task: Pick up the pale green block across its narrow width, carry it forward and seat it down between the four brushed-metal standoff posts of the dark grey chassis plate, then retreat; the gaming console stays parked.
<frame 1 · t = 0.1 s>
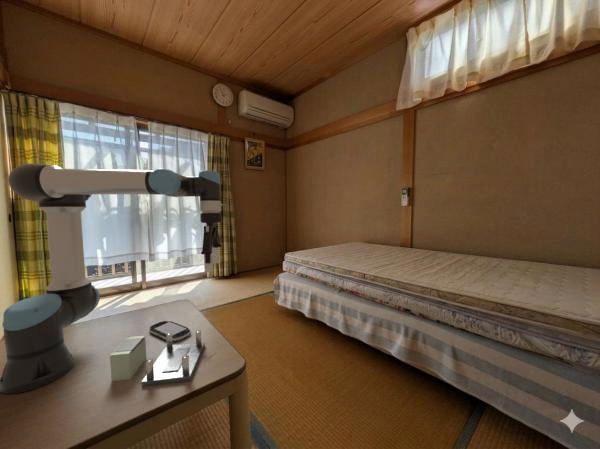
hand: (212, 267, 91), 28 cm above the table, fingers open, 13 cm apart
gaming console: (169, 334, 97), on the table
pale green block: (130, 369, 75), on the table
chassis: (177, 363, 77), on the table
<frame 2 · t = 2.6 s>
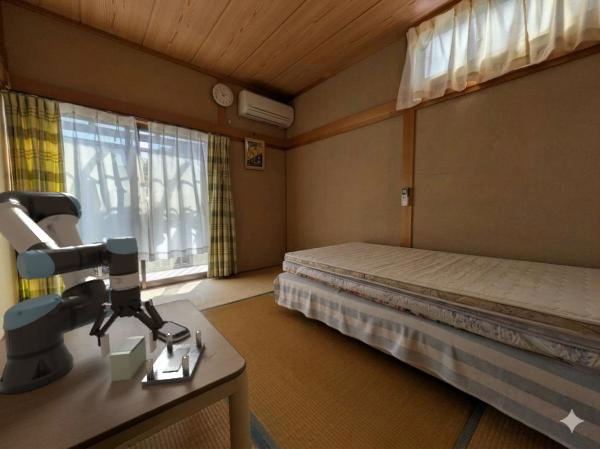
hand: (130, 353, 74), 5 cm above the table, fingers open, 13 cm apart
nothing on the table moved.
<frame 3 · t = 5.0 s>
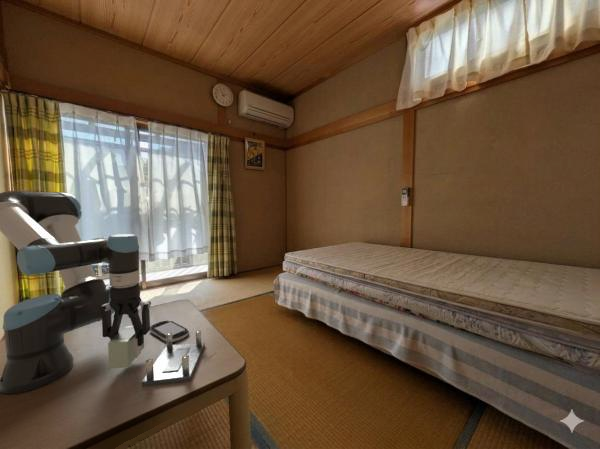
hand: (128, 355, 75), 4 cm above the table, fingers closed on pale green block, 5 cm apart
pale green block: (127, 357, 75), point 4 cm above the table, touching gripper
everything else where it was.
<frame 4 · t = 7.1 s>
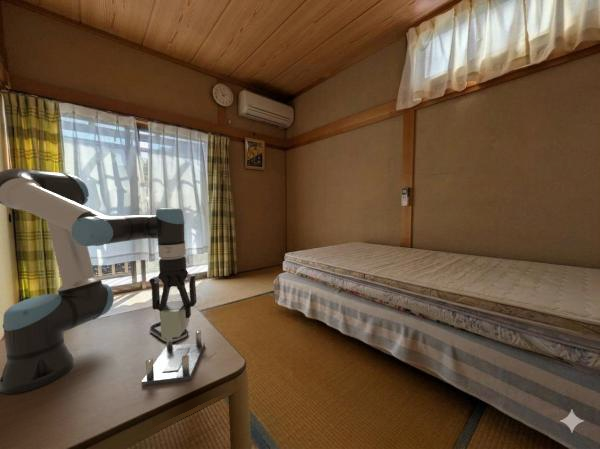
hand: (176, 328, 76), 12 cm above the table, fingers closed on pale green block, 5 cm apart
pale green block: (176, 329, 76), point 12 cm above the table, touching gripper
everything else where it was.
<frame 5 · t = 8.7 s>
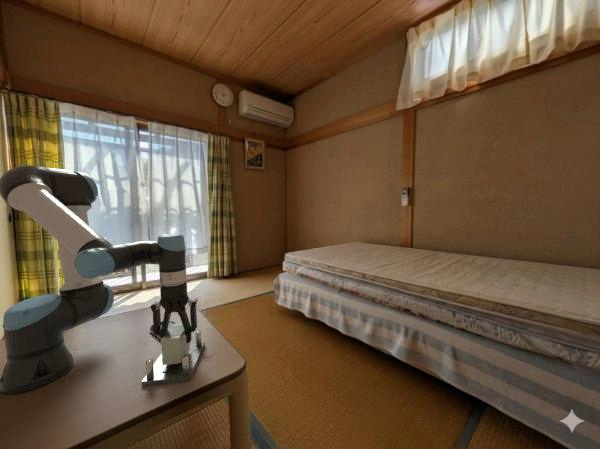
hand: (177, 352, 77), 4 cm above the table, fingers closed on pale green block, 5 cm apart
pale green block: (177, 354, 77), point 3 cm above the table, touching gripper
everything else where it was.
when the fingers open (2 cm above the table, at t = 9.4 s): pale green block stays where it is, resting on chassis.
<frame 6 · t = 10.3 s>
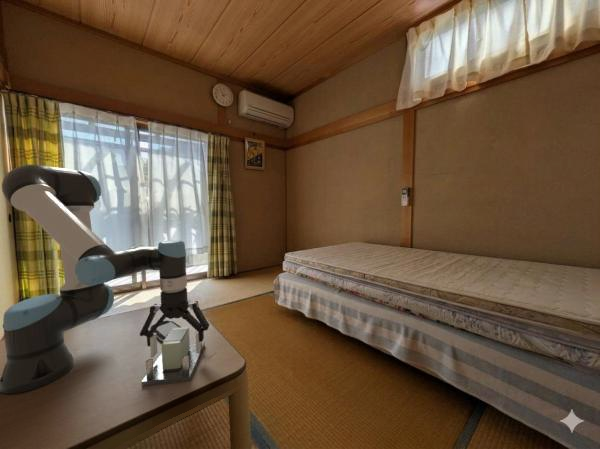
hand: (176, 352, 77), 4 cm above the table, fingers open, 13 cm apart
pale green block: (177, 358, 77), point 2 cm above the table, touching chassis
everything else where it was.
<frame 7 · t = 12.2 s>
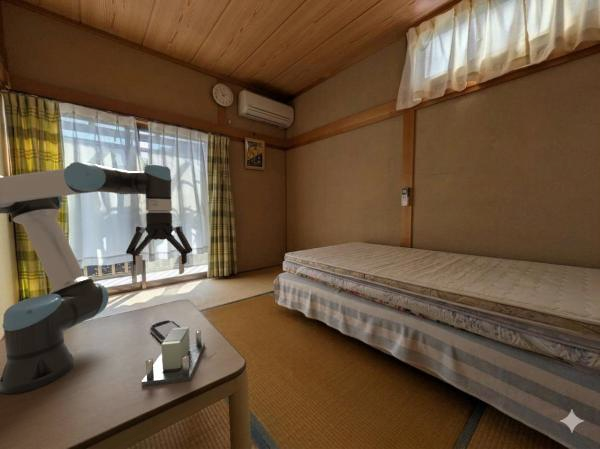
hand: (160, 273, 81), 28 cm above the table, fingers open, 13 cm apart
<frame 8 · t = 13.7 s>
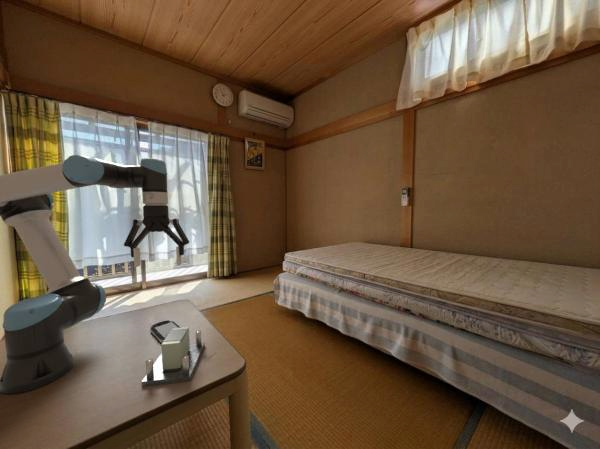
hand: (158, 265, 83), 31 cm above the table, fingers open, 13 cm apart
nothing on the table moved.
at the end: pale green block 0.2 cm off-centre on the chassis, point 1.8 cm above the chassis's base; pale green block tilted 0°; the gripper is holding nothing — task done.
